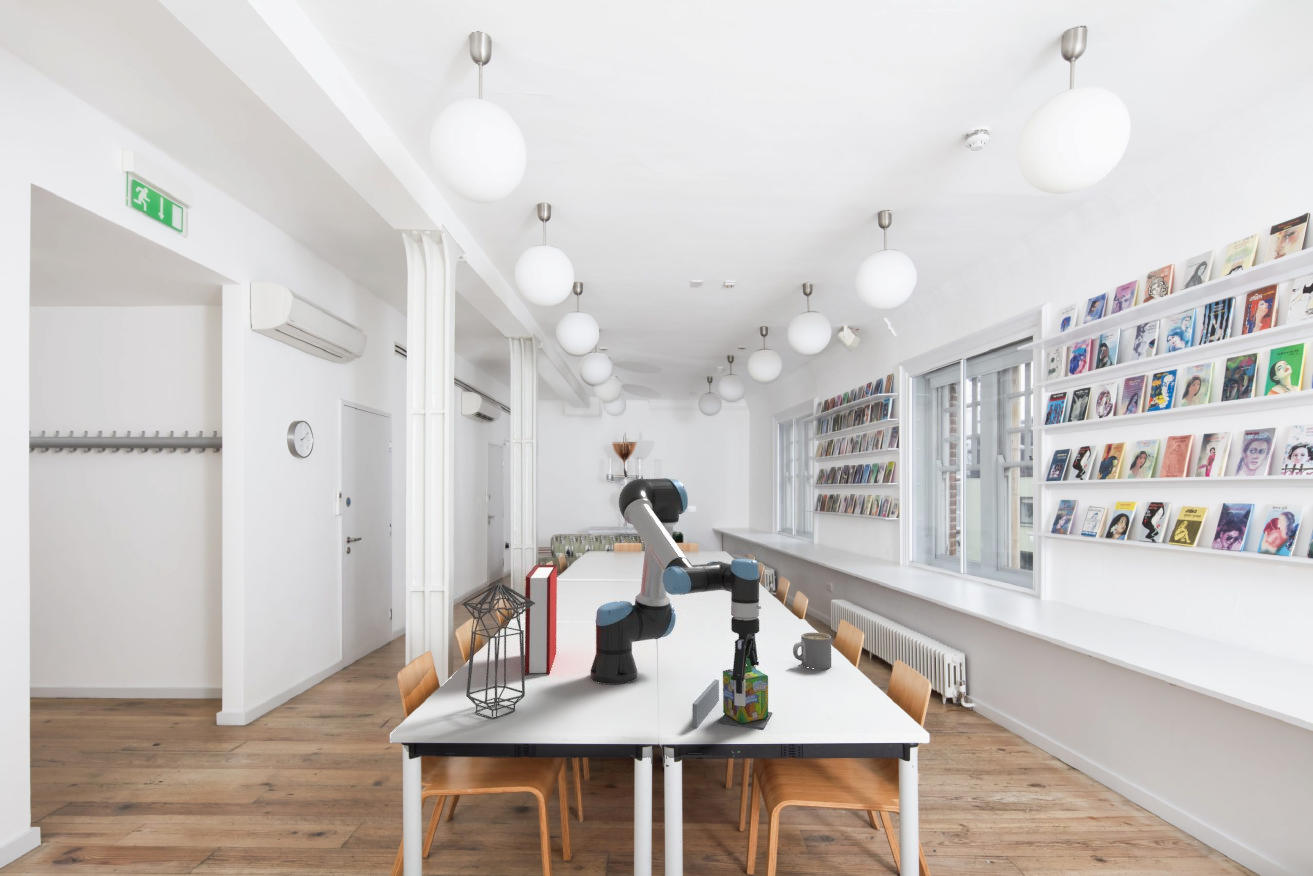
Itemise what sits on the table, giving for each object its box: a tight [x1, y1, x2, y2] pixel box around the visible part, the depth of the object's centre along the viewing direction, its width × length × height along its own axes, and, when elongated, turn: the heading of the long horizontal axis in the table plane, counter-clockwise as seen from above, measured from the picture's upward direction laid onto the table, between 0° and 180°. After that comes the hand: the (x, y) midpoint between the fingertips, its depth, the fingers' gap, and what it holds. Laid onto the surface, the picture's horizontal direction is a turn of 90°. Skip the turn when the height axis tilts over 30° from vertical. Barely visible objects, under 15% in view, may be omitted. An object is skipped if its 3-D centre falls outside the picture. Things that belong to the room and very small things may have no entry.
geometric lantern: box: [461, 583, 535, 720], centre depth 188 cm, size 16×16×35 cm
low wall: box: [691, 679, 720, 729], centre depth 185 cm, size 1×22×6 cm, turn 160°
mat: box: [717, 711, 773, 730], centre depth 181 cm, size 12×12×1 cm
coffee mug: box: [792, 632, 832, 670], centre depth 231 cm, size 13×10×10 cm
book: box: [524, 564, 558, 676], centre depth 234 cm, size 27×8×32 cm, turn 4°
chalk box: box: [722, 658, 769, 724], centre depth 181 cm, size 9×9×15 cm
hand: (745, 697), depth 181 cm, fingers open, 13 cm apart
